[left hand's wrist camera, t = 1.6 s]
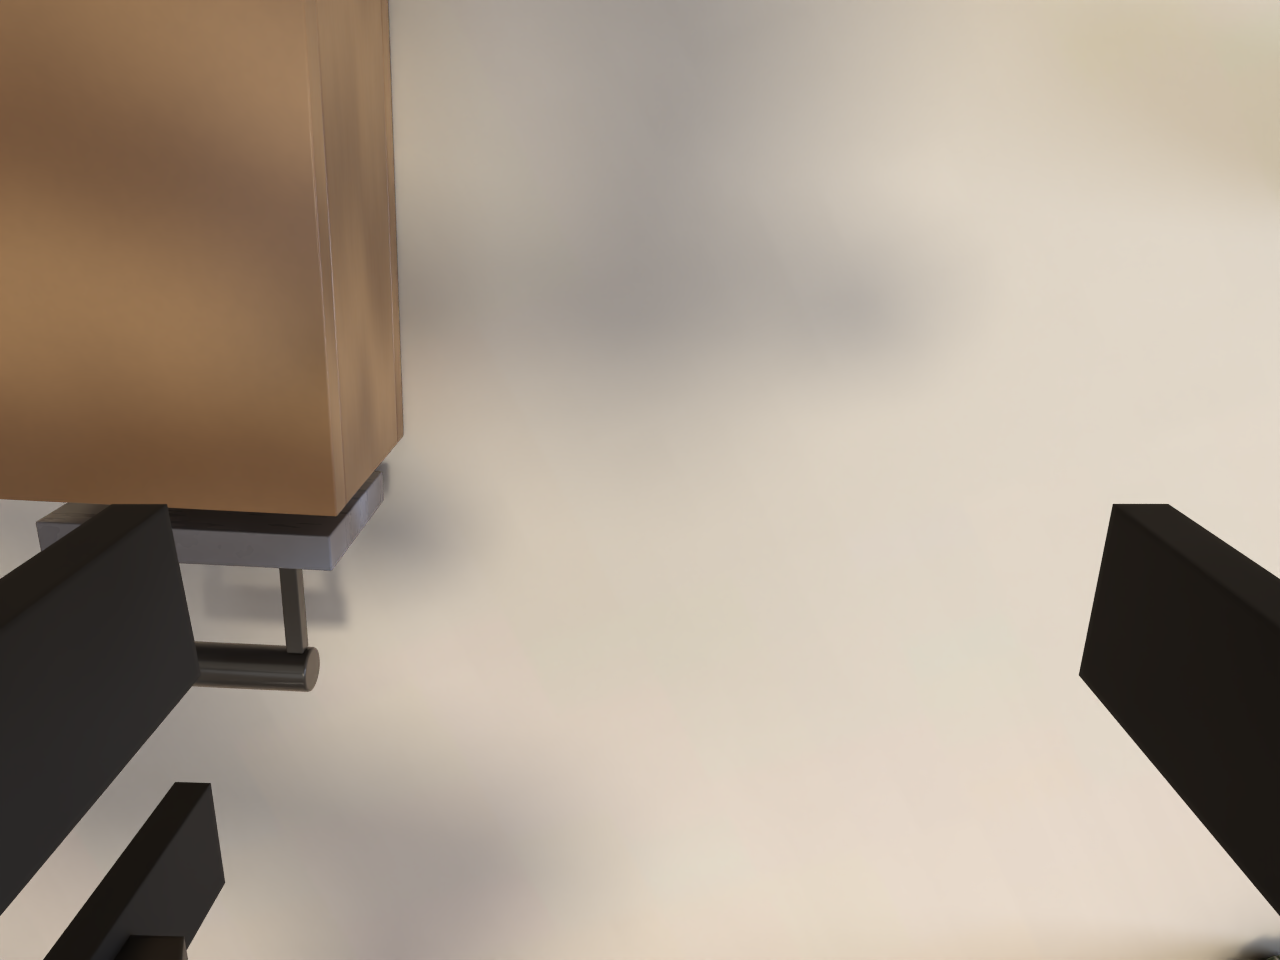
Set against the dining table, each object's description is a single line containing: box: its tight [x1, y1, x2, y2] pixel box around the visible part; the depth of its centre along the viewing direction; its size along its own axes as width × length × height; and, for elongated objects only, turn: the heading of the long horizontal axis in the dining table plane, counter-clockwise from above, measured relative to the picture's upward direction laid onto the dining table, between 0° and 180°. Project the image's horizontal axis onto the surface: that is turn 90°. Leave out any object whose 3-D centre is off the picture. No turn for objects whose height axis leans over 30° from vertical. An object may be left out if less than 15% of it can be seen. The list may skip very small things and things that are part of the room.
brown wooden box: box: [0, 0, 403, 516], centre depth 27 cm, size 19×10×8 cm, turn 177°
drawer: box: [36, 471, 384, 692], centre depth 29 cm, size 24×9×6 cm, turn 177°
